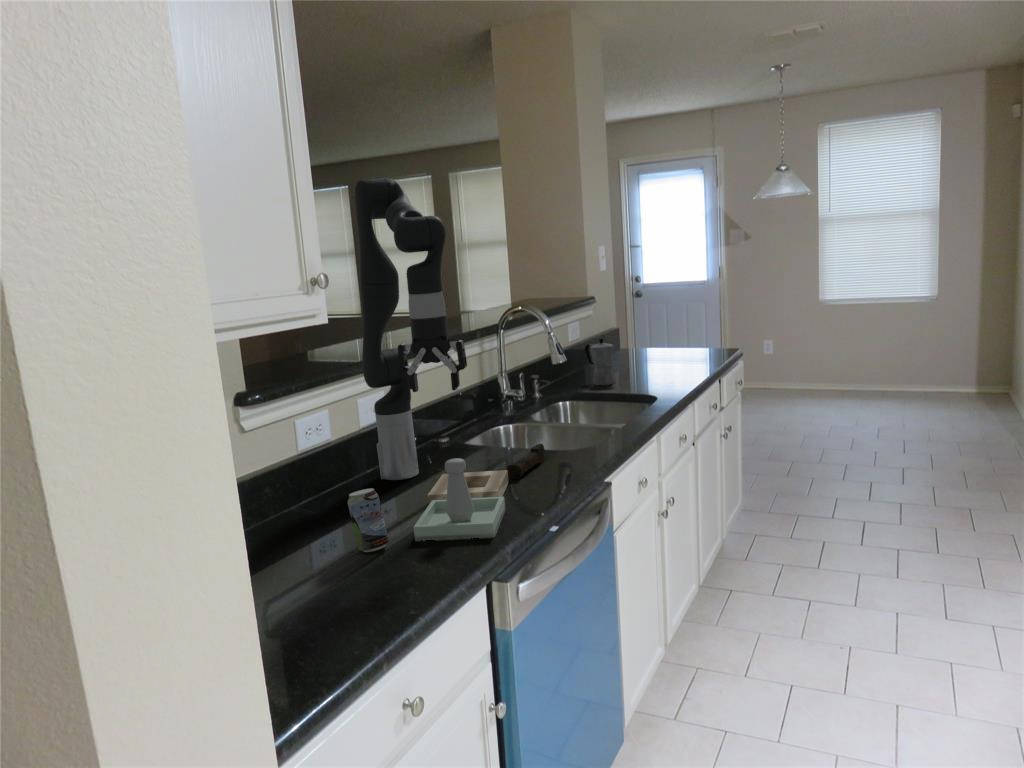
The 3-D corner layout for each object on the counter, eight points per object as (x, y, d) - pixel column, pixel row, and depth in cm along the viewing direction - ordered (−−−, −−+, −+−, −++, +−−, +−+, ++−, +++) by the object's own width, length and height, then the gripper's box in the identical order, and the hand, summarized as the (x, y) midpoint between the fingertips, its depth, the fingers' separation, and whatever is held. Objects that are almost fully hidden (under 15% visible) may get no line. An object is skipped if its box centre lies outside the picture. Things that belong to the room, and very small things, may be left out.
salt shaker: (453, 527, 155) (446, 465, 153) (443, 519, 160) (436, 460, 158) (479, 520, 157) (473, 459, 155) (468, 513, 162) (462, 454, 160)
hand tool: (520, 480, 186) (519, 462, 185) (506, 479, 188) (504, 461, 187) (554, 459, 202) (552, 442, 201) (540, 458, 204) (539, 441, 203)
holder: (429, 507, 172) (427, 494, 171) (444, 485, 187) (443, 473, 187) (499, 504, 170) (497, 491, 169) (508, 481, 185) (507, 470, 185)
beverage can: (375, 557, 146) (367, 497, 144) (347, 552, 150) (338, 494, 148) (396, 545, 151) (389, 487, 149) (369, 541, 155) (361, 484, 153)
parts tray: (415, 541, 152) (413, 527, 152) (433, 513, 168) (432, 500, 167) (494, 537, 150) (492, 523, 149) (505, 509, 165) (504, 496, 165)
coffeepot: (625, 382, 301) (621, 336, 298) (610, 386, 294) (606, 340, 291) (595, 380, 312) (591, 336, 309) (579, 384, 305) (576, 339, 302)
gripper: (389, 318, 156) (397, 396, 160) (457, 314, 154) (464, 392, 157) (399, 314, 164) (407, 388, 167) (464, 310, 162) (471, 385, 165)
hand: (435, 390), depth 162 cm, fingers open, 8 cm apart
